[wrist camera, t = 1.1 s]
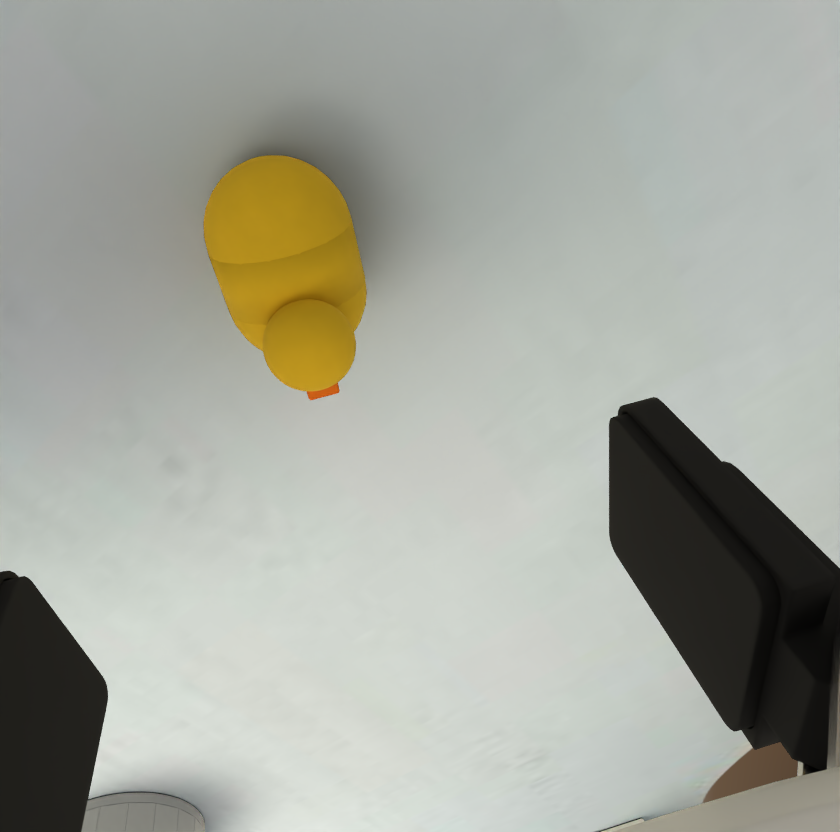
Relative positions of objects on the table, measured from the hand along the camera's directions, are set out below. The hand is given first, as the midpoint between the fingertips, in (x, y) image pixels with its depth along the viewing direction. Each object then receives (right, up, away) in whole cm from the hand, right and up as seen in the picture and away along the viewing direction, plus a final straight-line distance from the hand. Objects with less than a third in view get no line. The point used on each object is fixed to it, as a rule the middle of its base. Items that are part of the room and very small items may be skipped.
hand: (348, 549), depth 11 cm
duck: (-4, +8, +13) cm, 16 cm away
